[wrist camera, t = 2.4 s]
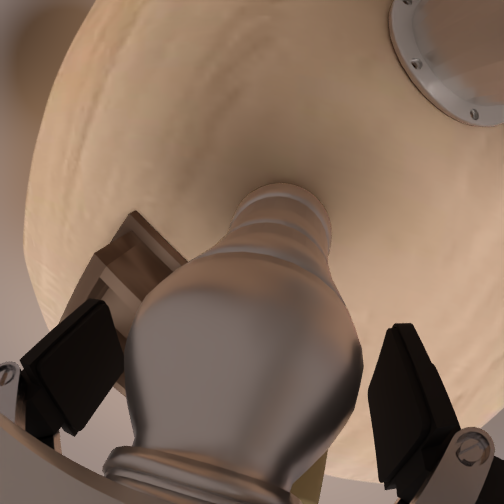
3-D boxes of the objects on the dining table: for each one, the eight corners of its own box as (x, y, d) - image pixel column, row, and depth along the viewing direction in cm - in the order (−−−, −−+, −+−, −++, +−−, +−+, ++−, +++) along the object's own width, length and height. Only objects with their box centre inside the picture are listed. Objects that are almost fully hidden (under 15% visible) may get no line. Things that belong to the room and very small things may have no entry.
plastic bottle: (233, 256, 22) (78, 520, 4) (247, 168, 19) (-71, 381, 1) (315, 275, 22) (299, 583, 3) (338, 188, 19) (491, 544, 1)
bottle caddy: (80, 299, 28) (47, 327, 22) (135, 210, 22) (90, 233, 17) (171, 382, 29) (150, 421, 24) (256, 325, 24) (241, 374, 19)
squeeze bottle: (244, 413, 29) (204, 551, 13) (284, 378, 26) (251, 554, 10) (300, 436, 30) (282, 565, 13) (344, 406, 26) (343, 560, 10)
